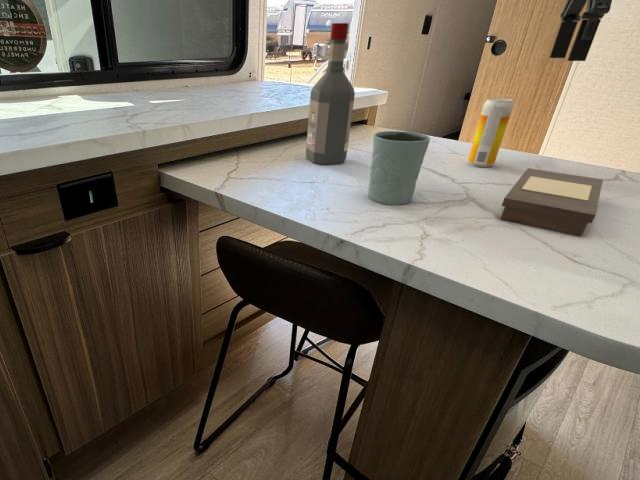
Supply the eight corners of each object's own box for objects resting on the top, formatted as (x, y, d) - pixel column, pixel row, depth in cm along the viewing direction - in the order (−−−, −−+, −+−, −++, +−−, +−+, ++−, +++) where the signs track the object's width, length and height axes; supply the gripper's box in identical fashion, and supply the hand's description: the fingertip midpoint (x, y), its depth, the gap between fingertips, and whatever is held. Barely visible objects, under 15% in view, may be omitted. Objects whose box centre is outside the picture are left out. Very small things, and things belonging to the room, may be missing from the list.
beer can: (492, 162, 106) (513, 98, 98) (493, 169, 102) (516, 102, 93) (466, 160, 108) (485, 97, 100) (466, 166, 104) (486, 100, 96)
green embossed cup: (366, 204, 81) (377, 140, 74) (361, 188, 89) (370, 129, 83) (420, 207, 80) (436, 142, 73) (410, 190, 88) (423, 130, 82)
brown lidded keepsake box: (520, 186, 90) (527, 167, 88) (593, 199, 84) (603, 178, 81) (496, 219, 75) (504, 196, 72) (584, 238, 68) (596, 214, 66)
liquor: (316, 165, 104) (329, 22, 88) (302, 156, 112) (313, 23, 95) (349, 163, 106) (368, 23, 90) (333, 154, 114) (349, 23, 97)
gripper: (570, -66, 83) (531, 56, 95) (617, -97, 64) (561, 62, 75) (615, -69, 81) (569, 57, 92) (678, -103, 61) (610, 62, 73)
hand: (565, 59), depth 84 cm, fingers open, 13 cm apart
